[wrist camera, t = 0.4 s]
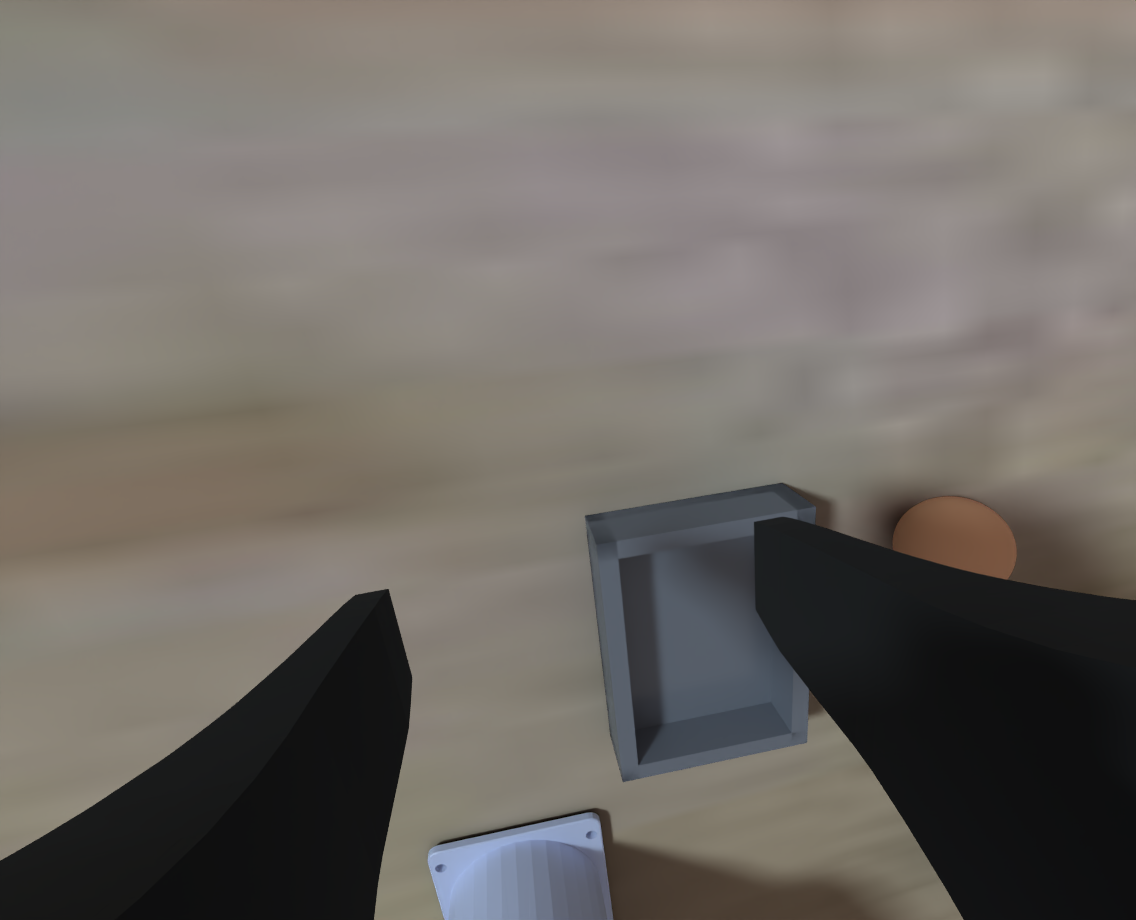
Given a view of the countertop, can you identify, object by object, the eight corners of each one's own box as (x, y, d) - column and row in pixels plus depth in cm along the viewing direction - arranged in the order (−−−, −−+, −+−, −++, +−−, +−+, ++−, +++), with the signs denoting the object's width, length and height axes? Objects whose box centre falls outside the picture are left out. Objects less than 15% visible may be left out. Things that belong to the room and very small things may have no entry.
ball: (952, 558, 25) (1036, 610, 21) (867, 574, 24) (938, 629, 20) (963, 474, 23) (1055, 513, 20) (874, 489, 23) (950, 532, 19)
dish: (778, 701, 26) (807, 742, 24) (610, 736, 25) (622, 782, 23) (782, 482, 22) (816, 506, 20) (585, 515, 21) (596, 544, 19)
